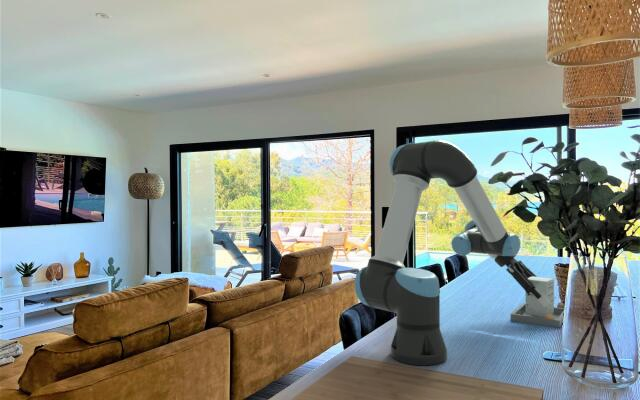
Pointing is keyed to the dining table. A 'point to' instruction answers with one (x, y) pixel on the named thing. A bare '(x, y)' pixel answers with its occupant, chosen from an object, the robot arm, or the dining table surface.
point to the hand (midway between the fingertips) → (550, 302)
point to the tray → (522, 317)
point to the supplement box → (533, 304)
